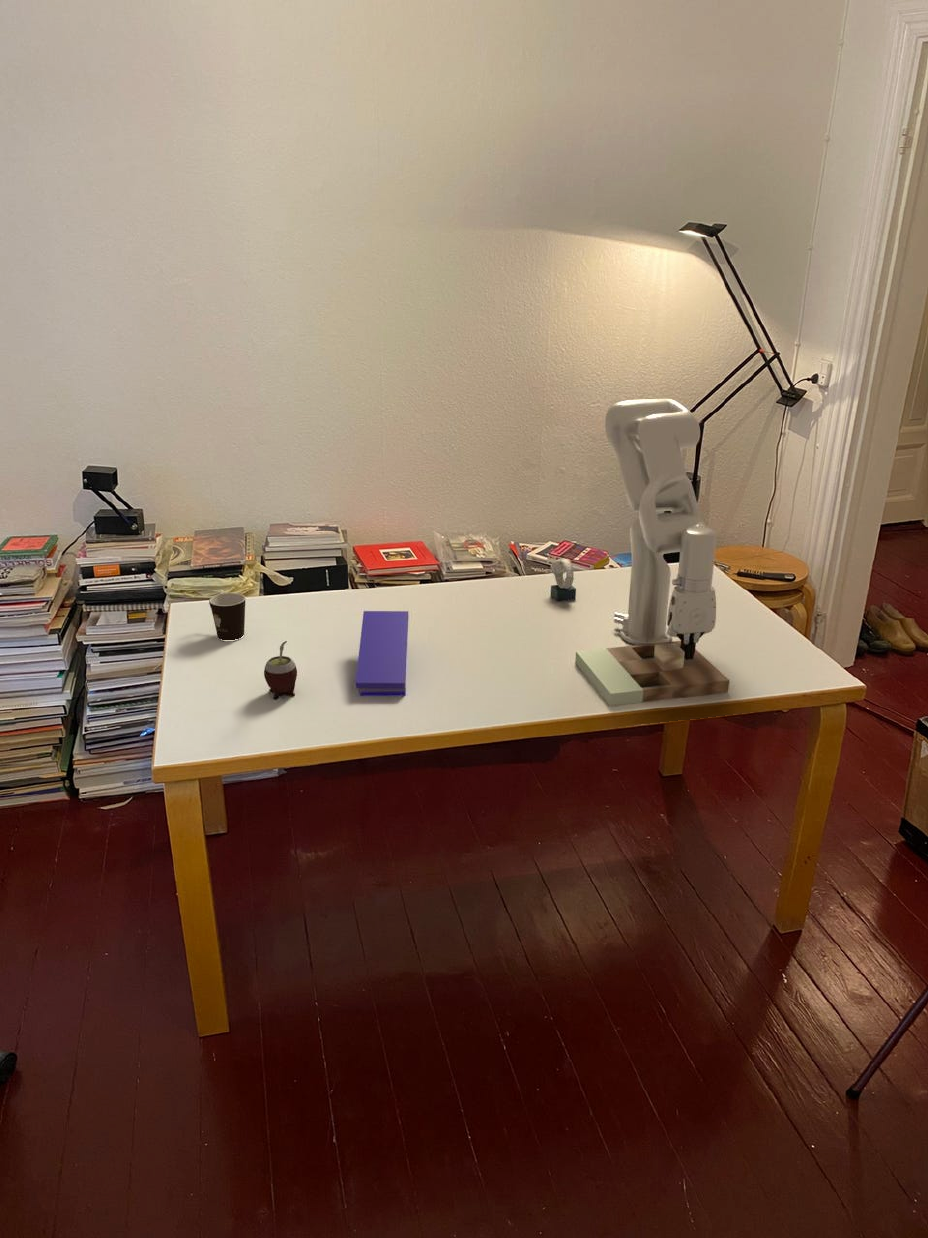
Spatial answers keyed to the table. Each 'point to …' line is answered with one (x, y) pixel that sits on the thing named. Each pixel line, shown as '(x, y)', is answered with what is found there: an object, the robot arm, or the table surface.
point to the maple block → (669, 656)
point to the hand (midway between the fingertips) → (686, 657)
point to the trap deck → (669, 674)
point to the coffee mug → (228, 615)
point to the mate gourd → (281, 675)
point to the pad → (609, 677)
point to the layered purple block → (383, 654)
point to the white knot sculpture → (563, 588)
